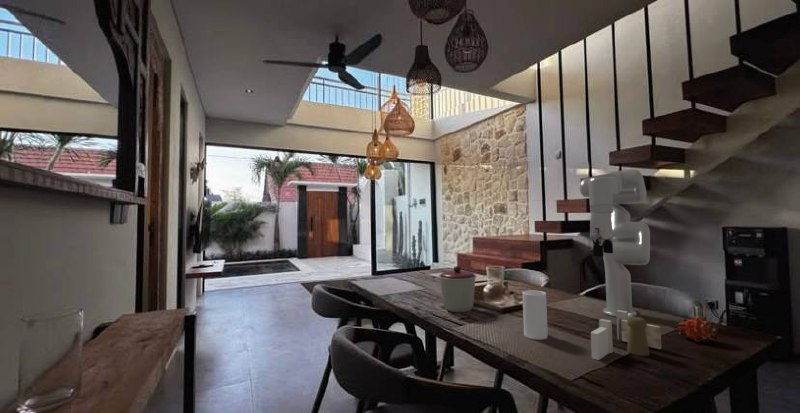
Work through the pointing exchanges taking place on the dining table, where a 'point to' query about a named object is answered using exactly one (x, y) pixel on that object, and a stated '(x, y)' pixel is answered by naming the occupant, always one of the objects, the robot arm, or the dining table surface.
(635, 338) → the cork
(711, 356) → the dining table surface
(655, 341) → the gate
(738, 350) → the dining table surface
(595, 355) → the wall frame
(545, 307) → the cup
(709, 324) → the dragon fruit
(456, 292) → the canister
